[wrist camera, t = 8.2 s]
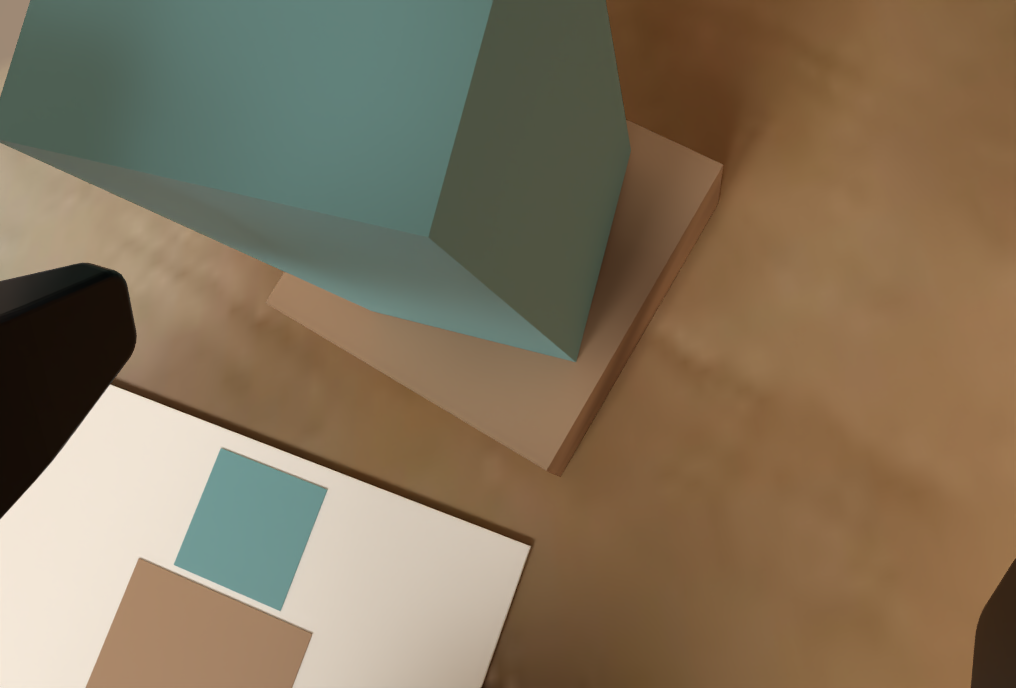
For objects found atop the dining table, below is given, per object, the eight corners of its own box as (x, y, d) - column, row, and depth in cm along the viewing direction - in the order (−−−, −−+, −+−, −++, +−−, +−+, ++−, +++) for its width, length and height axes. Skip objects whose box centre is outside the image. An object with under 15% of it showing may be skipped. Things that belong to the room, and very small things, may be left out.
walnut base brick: (563, 477, 23) (546, 470, 20) (313, 329, 25) (265, 302, 22) (717, 209, 23) (723, 165, 20) (461, 86, 25) (434, 29, 22)
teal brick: (575, 362, 20) (427, 237, 8) (372, 311, 21) (-13, 137, 9) (630, 150, 20) (562, -255, 9) (427, 110, 21) (122, -299, 10)
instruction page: (384, 965, 21) (381, 969, 20) (-85, 718, 24) (-91, 720, 24) (530, 546, 22) (529, 546, 22) (68, 367, 25) (63, 366, 25)
